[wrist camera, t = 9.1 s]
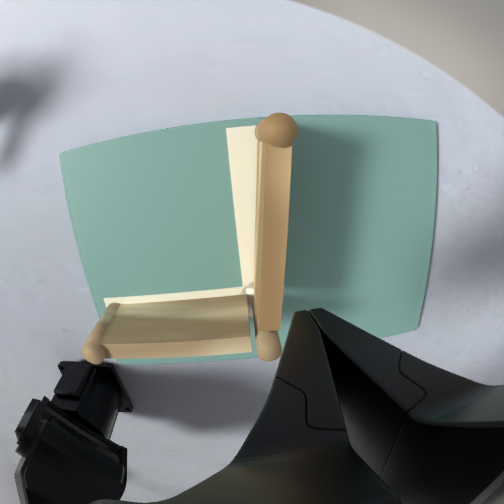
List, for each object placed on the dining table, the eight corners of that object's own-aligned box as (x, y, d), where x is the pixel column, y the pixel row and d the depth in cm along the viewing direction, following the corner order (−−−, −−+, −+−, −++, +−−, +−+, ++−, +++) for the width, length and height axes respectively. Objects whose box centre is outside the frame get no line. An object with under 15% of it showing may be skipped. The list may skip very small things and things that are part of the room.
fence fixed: (271, 307, 23) (282, 360, 17) (110, 319, 22) (84, 368, 17) (269, 288, 22) (281, 339, 16) (105, 302, 22) (75, 349, 16)
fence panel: (281, 119, 18) (298, 113, 13) (273, 288, 22) (283, 332, 17) (254, 118, 17) (262, 111, 13) (250, 289, 22) (255, 333, 17)
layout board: (414, 326, 25) (417, 330, 24) (119, 360, 24) (117, 364, 24) (432, 120, 18) (436, 120, 18) (62, 152, 18) (58, 153, 17)
